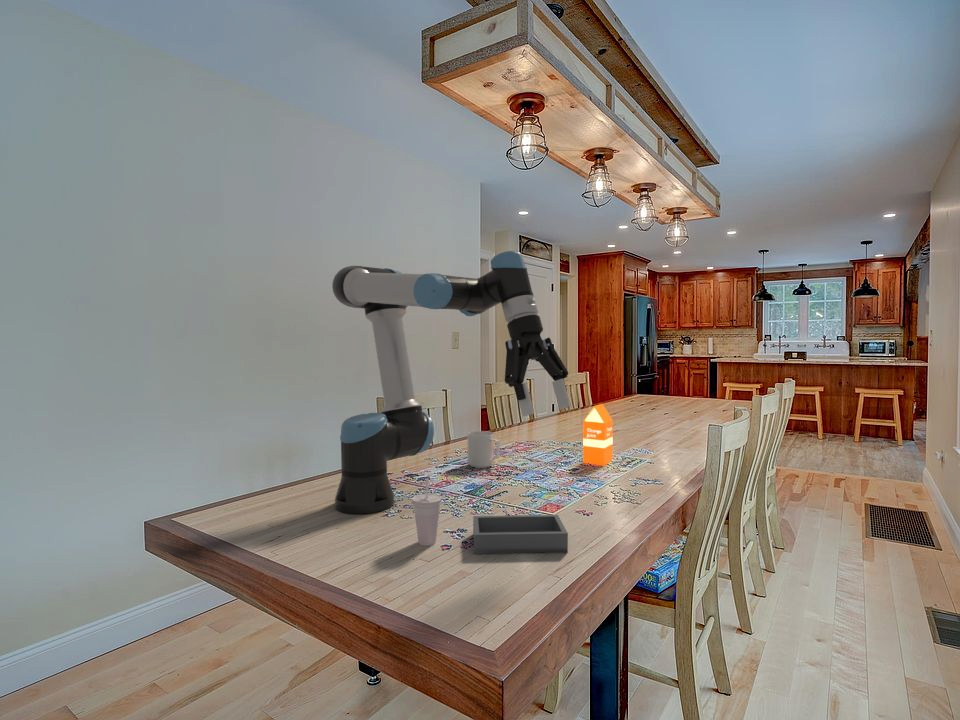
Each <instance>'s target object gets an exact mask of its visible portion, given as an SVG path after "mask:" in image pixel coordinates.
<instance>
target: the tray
mask: <svg viewBox="0 0 960 720" xmlns="http://www.w3.org/2000/svg"><path fill="white" fill-rule="evenodd" d="M472 517H473V521H472V523H473V528H472V531H473V549H474V551H473V552H474V555H496V554H498V555H499V554H501V555H502V554H505V555H507V554H509V555H510V554H511V555H512V554H553V553H554V554H557V553H558V554H559V553H563V554H564V553H565V552H566V554H567V553H568V549H569V548H568V546H569V545H568V543H569V542H568V541H569V535H568V533H569V532H568V531H567V529H566V528H565V526H564V524H563V522H562V520H561V518H560V516H559V515H558V514H539V515H538V514H536V515H535V514H534V515H531V514H530V515H528V514H527V515H525V514H524V515H522V514H521V515H473V516H472Z"/></svg>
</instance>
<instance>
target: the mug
mask: <svg viewBox="0 0 960 720" xmlns="http://www.w3.org/2000/svg"><path fill="white" fill-rule="evenodd" d="M466 434H467V435H466V436H467V439H466V440H467V442H466V443H467V453H466V454H467V465H468V466H469V467H470V466H471V467H470V468H472V467H475V468H474V469H478V468H482V469H486V468H485V467H489V468H491V467H492V466H493V465H494V463H495V460H497V459H498V458H499V456H500V447H501V445H500V443H501V440H499V439H497V438H494V432H492V431H488V430H487V431H486V430H476V431H469V432H468V433H466ZM494 442H495V443H496V445H495V446H496V449H495V448H494V444H495V443H494ZM494 449H495V453H494ZM494 454H495V457H494ZM490 466H491V467H490Z"/></svg>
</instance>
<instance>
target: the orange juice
mask: <svg viewBox="0 0 960 720" xmlns="http://www.w3.org/2000/svg"><path fill="white" fill-rule="evenodd" d="M613 421H614V420H613V418H612V417H611V416H610V414H609V412H608V410H607V409H606V407H605V406H604V404H603V403H600V404H597V405H594V406H593V407H592V409H591V410H590V411H589V413H588V414H587V416H586V417H585V418H584V420H583V421H582V422H583V425H582V426H583V428H582V429H583V431H582V432H583V435H582V436H583V437H582V442H583V444H582V445H583V446H582V447H583V448H582V450H583V453H582V454H583V457H582V460H583V461H582V462H583V464H588V463H589V464H588V465H595V464H596V466H597V465H598V466H603V467H604V466H606V465H607V464H609V463H611V462H613V443H614V442H613V440H614V439H613V437H614V435H613V432H614V431H613V429H614V428H613V426H614V425H613V424H614V423H613Z"/></svg>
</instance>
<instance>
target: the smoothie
mask: <svg viewBox="0 0 960 720" xmlns="http://www.w3.org/2000/svg"><path fill="white" fill-rule="evenodd" d="M442 500H443V499H442V496H441V495H440V494H435V493H429V478H428V477H427V478H425V493H423V494H422V493H421V494H417V495H414V496H413V497H412V498H411V504H412V506H413V511H414V519H415V526H416V533H417V541H418V544H419V545H420V546H422V547H431V546H434V545H435V544H436V543H437V537H438V536H437V535H438V526H439V518H440V517H439V516H440V511H441V504H442V503H443V502H442Z"/></svg>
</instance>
